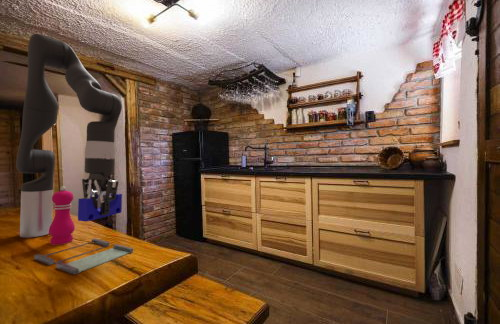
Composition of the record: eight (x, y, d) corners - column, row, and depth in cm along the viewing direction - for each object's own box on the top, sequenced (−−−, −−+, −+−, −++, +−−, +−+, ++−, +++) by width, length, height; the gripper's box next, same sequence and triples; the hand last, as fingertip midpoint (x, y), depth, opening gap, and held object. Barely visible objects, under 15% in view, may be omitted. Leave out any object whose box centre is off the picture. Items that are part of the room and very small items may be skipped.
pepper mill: (43, 243, 80) (45, 186, 80) (66, 237, 86) (68, 184, 86) (56, 246, 77) (57, 187, 77) (79, 240, 84) (80, 186, 84)
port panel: (34, 259, 67) (34, 254, 67) (94, 241, 83) (94, 238, 83) (74, 274, 58) (74, 270, 58) (132, 252, 74) (133, 248, 74)
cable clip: (110, 211, 75) (110, 193, 75) (121, 212, 73) (121, 193, 73) (73, 220, 63) (74, 198, 63) (86, 221, 62) (87, 199, 62)
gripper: (72, 156, 68) (70, 213, 68) (102, 157, 62) (101, 219, 62) (98, 157, 74) (97, 209, 74) (127, 157, 68) (126, 214, 68)
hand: (98, 213), depth 68 cm, fingers closed on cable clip, 5 cm apart
